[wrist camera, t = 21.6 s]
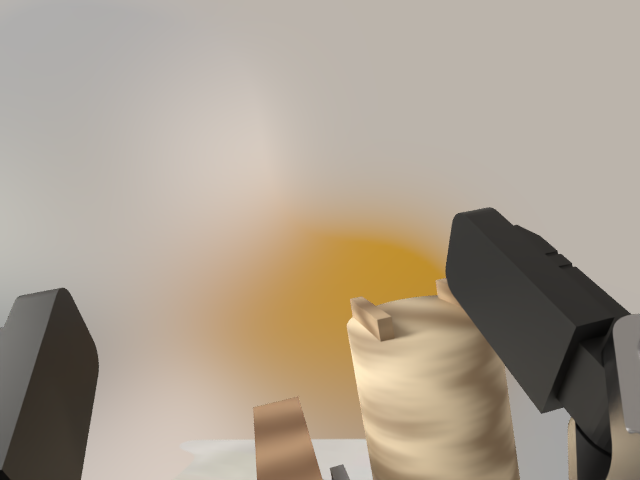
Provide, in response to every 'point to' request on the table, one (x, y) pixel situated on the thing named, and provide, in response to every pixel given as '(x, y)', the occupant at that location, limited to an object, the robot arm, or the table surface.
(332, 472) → the stand
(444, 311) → the tower
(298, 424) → the wooden grain block
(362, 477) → the table surface
